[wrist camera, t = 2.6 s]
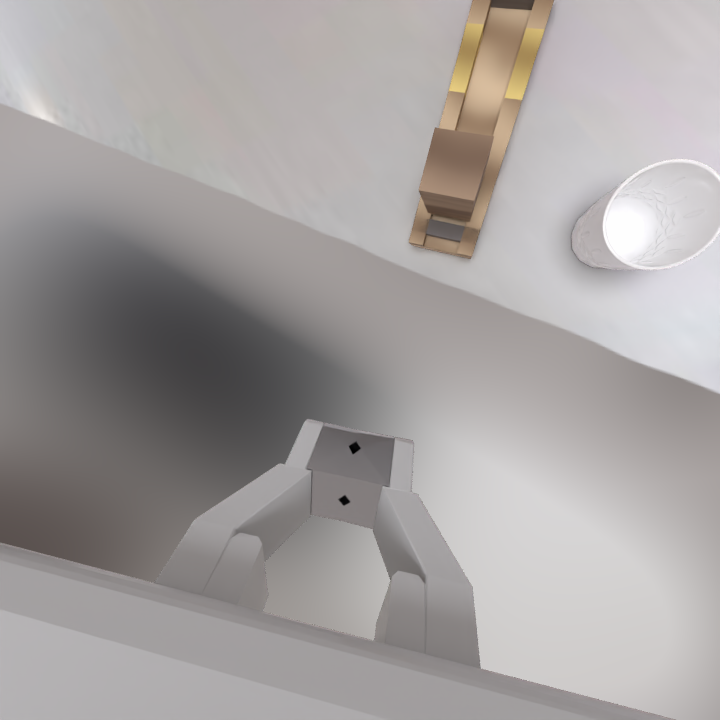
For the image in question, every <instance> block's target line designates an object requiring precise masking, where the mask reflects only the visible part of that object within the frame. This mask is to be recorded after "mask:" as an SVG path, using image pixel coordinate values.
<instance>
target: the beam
mask: <svg viewBox="0 0 720 720" xmlns="http://www.w3.org/2000/svg"><path fill="white" fill-rule="evenodd" d="M553 2H554V0H473V1H472V5H471V9H470V13H469V16H468V20H467V24H466V28H465V31H464V35H463V39H462V43H461V46H460V50H459V54H458V58H457V62H456V65H455V69H454V73H453V77H452V80H451V84H450V88H449V92H448V96H447V99H446V103H445V107H444V111H443V114H442V118H441V122H440V126H439V128H441V129H448V130H455V131H461V132H468V133H474V134H481V135H488V136H494V139H493V143H492V147H491V151H490V155H489V159H488V163H487V167H486V171H485V175H484V178H483V181H482V185H481V188H480V191H479V194H478V197H477V201H476V204H475V207H474V210H473V214H472V217H471V220H470V222H469V221H465V220H460V219H455V218H450V217H445V216H440V215H436V214H431V213H428V212H427V210H426V207H425V205H424V202H423V200H422V197H420V201H419V205H418V209H417V212H416V216H415V220H414V224H413V228H412V231H411V235H410V239H409V243H410V244H411V245H413V246H417V247H421V248H425V249H430V250H434V251H438V252H443V253H447V254H451V255H456V256H460V257H464V258H469V259H471V257H472V254H473V251H474V248H475V245H476V241H477V238H478V235H479V232H480V229H481V226H482V223H483V220H484V217H485V213H486V210H487V207H488V204H489V201H490V198H491V195H492V192H493V189H494V185H495V182H496V179H497V176H498V173H499V170H500V167H501V164H502V161H503V157H504V154H505V151H506V148H507V145H508V142H509V139H510V136H511V133H512V129H513V126H514V123H515V120H516V117H517V114H518V111H519V108H520V105H521V101H522V98H523V95H524V92H525V89H526V86H527V83H528V80H529V77H530V73H531V70H532V67H533V64H534V61H535V58H536V55H537V52H538V49H539V45H540V42H541V39H542V36H543V33H544V30H545V27H546V24H547V21H548V17H549V14H550V11H551V8H552V5H553Z"/></svg>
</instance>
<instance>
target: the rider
mask: <svg viewBox="0 0 720 720" xmlns="http://www.w3.org/2000/svg"><path fill="white" fill-rule="evenodd" d="M493 139H494V136H488V135H481V134H474V133H468V132H461V131H455V130H448V129H441V128H435V130H434V133H433V137H432V141H431V145H430V149H429V153H428V156H427V160H426V164H425V168H424V172H423V175H422V179H421V183H420V187H419V192H420V195H421V197H422V200H423V202H424V205H425V207H426V210H427V212H428V213H431V214H436V215H440V216H445V217H450V218H455V219H460V220H465V221H469V222H470V220H471V217H472V214H473V210H474V207H475V204H476V201H477V197H478V194H479V191H480V188H481V185H482V181H483V178H484V175H485V171H486V167H487V163H488V159H489V155H490V151H491V147H492V143H493Z"/></svg>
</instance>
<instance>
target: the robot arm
mask: <svg viewBox="0 0 720 720" xmlns="http://www.w3.org/2000/svg"><path fill="white" fill-rule="evenodd" d="M413 451H414V442H413V440H408V439H403V438H398V437H395V438H394V437H393V436H388V435H383V434H377V433H372V432H367V431H362V430H355V429H351V428H347V427H342V426H338V425H334V424H330V423H324V422H319V421H315V420H310V419H307V420H306V421H305V422H304V424H303V426H302V428H301V431H300V433H299V435H298V437H297V439H296V442H295V444H294V446H293V448H292V450H291V453H290V454H289V457H288V459H287V461H286V463H285V465H284V464H278V465H277V466H275V467H274V468H272V469H271V470H269V471H268V472H266V473H264V474H263V475H262V476H260V477H258V478H257V479H255V480H254V481H252V482H251V483H249V484H248V485H246V486H245V487H243V488H242V489H240V490H239V491H237V492H236V493H234V494H233V495H231V496H230V497H228V498H227V499H225V500H223V501H222V502H220V503H219V504H217V505H216V506H215V507H213V508H211V509H210V510H209V511H207V512H205V513H204V514H202V515H201V516H199V517H198V518H196V519H195V520H194V521H193V523H192V525H191V526H190V528H189V530H188V531H187V532H186V534H185V536H184V537H183V539H182V540H181V542H180V543H179V545H178V547H177V548H176V550H175V551H174V553H173V554H172V556H171V557H170V559H169V561H168V562H167V564H166V565H165V567H164V568H163V570H162V572H161V573H160V575H159V576H158V578H157V579H156V581H155V582H154V583H152V582H148V581H144V580H141V579H137V578H133V577H129V576H126V575H122V574H118V573H114V572H110V571H106V570H103V569H99V568H95V567H91V566H87V565H84V564H79V563H76V562H72V561H68V560H64V559H60V558H57V557H53V556H49V555H45V554H42V553H37V552H34V551H30V550H26V549H22V548H19V547H15V546H11V545H7V544H3V543H0V720H675V719H671V718H667V717H663V716H660V715H656V714H652V713H648V712H644V711H640V710H637V709H632V708H628V707H625V706H621V705H618V704H614V703H610V702H606V701H602V700H599V699H595V698H591V697H587V696H583V695H579V694H576V693H571V692H568V691H564V690H560V689H556V688H553V687H549V686H545V685H541V684H538V683H533V682H529V681H526V680H522V679H518V678H515V677H510V676H507V675H503V674H499V673H495V672H492V671H488V670H484V669H481V668H480V658H479V648H478V638H477V628H476V618H475V608H474V597H473V587H472V585H471V584H470V582H469V580H468V579H467V577H466V576H465V574H464V572H463V570H462V569H461V567H460V565H459V563H458V562H457V560H456V558H455V557H454V555H453V553H452V552H451V550H450V548H449V546H448V545H447V543H446V541H445V540H444V538H443V537H442V535H441V533H440V531H439V530H438V528H437V526H436V525H435V523H434V521H433V520H432V518H431V516H430V514H429V513H428V511H427V509H426V508H425V506H424V504H423V502H422V501H421V499H420V498H419V496H418V494H416V493H412V473H413ZM310 515H315V516H319V517H324V518H330V519H335V520H339V521H344V522H348V523H351V524H355V525H359V526H363V527H367V528H371V529H373V533H374V535H375V538H376V541H377V544H378V547H379V550H380V552H381V555H382V558H383V561H384V563H385V566H386V569H387V572H388V575H389V577H390V580H391V581H390V584H389V587H388V590H387V593H386V596H385V599H384V602H383V605H382V608H381V611H380V613H379V616H378V619H377V622H376V630H375V638H374V640H370V639H366V638H362V637H358V636H355V635H351V634H347V633H343V632H339V631H335V630H332V629H328V628H324V627H320V626H316V625H313V624H309V623H305V622H301V621H297V620H293V619H290V618H285V617H282V616H278V615H274V614H271V613H267V612H263V609H264V606H265V603H266V601H267V598H268V588H267V580H266V572H265V564H264V562H265V561H266V560H267V559H268V558H269V557H270V556H271V555H272V554H273V553H274V552H275V551H276V550H277V549H278V548H279V547H280V546H281V545H282V544H283V543H284V542H285V541H286V540H287V539H288V538H289V537H290V536H291V535H292V534H293V533H294V532H295V531H296V530H297V529H298V528H299V527H300V526H301V525H302V524H303V523H305V521H307V520H308V519H309V518H310Z"/></svg>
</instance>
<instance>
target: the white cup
mask: <svg viewBox="0 0 720 720" xmlns="http://www.w3.org/2000/svg"><path fill="white" fill-rule="evenodd" d="M719 234H720V175H719V174H718V173H717V172H716V171H715V170H714V169H712V168H711V167H709V166H708V165H706V164H704V163H701V162H698V161H694V160H689V159H671V160H665V161H661V162H657V163H654V164H652V165H649V166H647V167H645V168H643V169H641V170H639V171H638V172H636V173H635V174H633V175H632V176H630V177H629V178H628V179H626V180H625V181H624V182H622V183H621V184H620V185H618V186H617V187H615V188H614V189H613V190H611V191H610V192H609V193H607V194H606V195H605V196H603V197H602V198H601V199H600V200H598V201H597V202H596V203H595V204H594V205H592V206H591V207H590V208H589V209H588V210H587V211H586V212H585V213H584V214H583V215H582V216H581V217H580V218H579V219H578V220H577V223H576V225H575V227H574V229H573V231H572V234H571V237H572V249H573V251H574V253H575V254H576V256H577V257H578V259H579V260H580V261H581V262H583V263H585V264H587V265H589V266H591V267H594V268H606V269H614V270H662V269H667V268H672V267H675V266H678V265H681V264H683V263H685V262H687V261H689V260H691V259H693V258H695V257H696V256H698V255H699V254H700V253H702V252H703V251H704V250H705V249H707V248H708V247H709V246H710V245H711V244H712V243H713V242H714V240H715V239H716V238H717V237H718V235H719Z"/></svg>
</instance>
